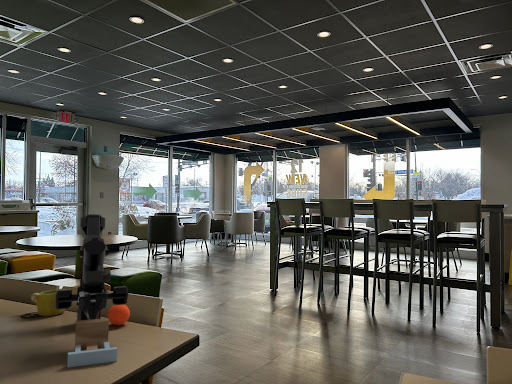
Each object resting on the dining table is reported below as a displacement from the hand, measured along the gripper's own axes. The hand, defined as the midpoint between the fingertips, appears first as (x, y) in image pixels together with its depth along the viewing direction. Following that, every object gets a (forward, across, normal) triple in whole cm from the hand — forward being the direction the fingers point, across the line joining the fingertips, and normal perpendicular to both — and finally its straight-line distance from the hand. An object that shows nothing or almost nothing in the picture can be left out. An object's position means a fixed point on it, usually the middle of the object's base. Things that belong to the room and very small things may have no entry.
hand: (92, 324), depth 104 cm
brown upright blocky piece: (+8, 0, +1) cm, 8 cm away
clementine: (-11, +9, +21) cm, 25 cm away
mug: (-28, -14, +38) cm, 49 cm away
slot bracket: (+10, 0, 0) cm, 10 cm away
